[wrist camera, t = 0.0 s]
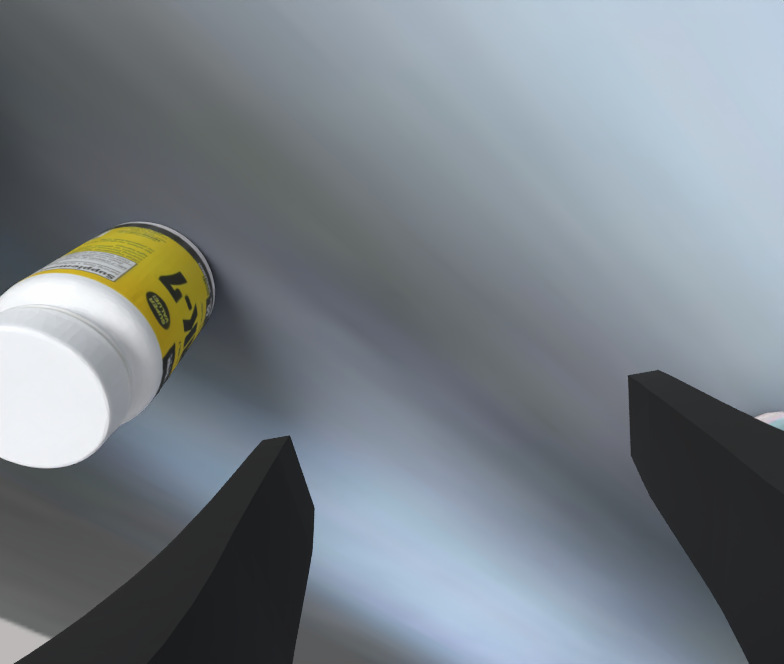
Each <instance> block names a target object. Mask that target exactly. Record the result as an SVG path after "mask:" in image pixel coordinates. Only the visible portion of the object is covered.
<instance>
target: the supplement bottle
mask: <svg viewBox="0 0 784 664" xmlns="http://www.w3.org/2000/svg"><path fill="white" fill-rule="evenodd" d="M214 301H215V285H214V280H213V276H212V273H211V270H210V267H209V265H208V263H207V261H206V259H205V258H204V256H203V255H202V253H201V252H200V251H199V249H198V248H197V247H196V246H195V245H194V244H193V243H192V242H191V241H189V240H188V239H187V238H186V237H184V236H183V235H181V234H180V233H178V232H176V231H175V230H173V229H170V228H168V227H166V226H163V225H160V224H155V223H150V222H128V223H123V224H120V225H117V226H114V227H112V228H110V229H108V230H106V231H104V232H102V233H101V234H99V235H97V236H96V237H94V238H92V239H91V240H89V241H87V242H86V243H84V244H82V245H80V246H79V247H77V248H75V249H74V250H72V251H70V252H69V253H67V254H65V255H64V256H62V257H60V258H59V259H57V260H55V261H54V262H52V263H50V264H48V265H47V266H45V267H43V268H42V269H40V270H38V271H37V272H35V273H33V274H32V275H30V276H28V277H26V278H25V279H23V280H21V281H20V282H18V283H16V284H15V285H13V286H12V287H11V288H9V289H8V290H7V291H6V292H5V293H4V294H3V295H2V296H1V297H0V458H3V459H5V460H8V461H11V462H14V463H17V464H20V465H24V466H29V467H36V468H58V467H65V466H69V465H72V464H75V463H78V462H80V461H82V460H84V459H86V458H88V457H89V456H91V455H92V454H93V453H95V452H96V451H97V450H98V449H99V448H100V447H101V446H102V445H103V444H104V442H105V441H106V440H107V439H108V438H109V437H110V436H111V434H112V433H113V432H114V431H115V430H116V429H117V428H118V427H119V426H120V425H122V424H124V423H126V422H128V421H130V420H132V419H133V418H135V417H136V416H137V415H139V414H140V413H141V412H142V411H143V410H144V409H145V408H146V407H147V406H148V405H149V404H150V403H151V401H152V400H153V399H154V397H155V396H156V395H157V394H158V393H159V391H160V389H161V387H162V386H163V384H164V383H165V382H166V380H167V379H168V377H169V376H170V375H171V373H172V371H173V370H174V369H175V367H176V366H177V364H178V363H179V362H180V360H181V359H182V357H183V356H184V354H185V353H186V351H187V350H188V348H189V347H190V345H191V344H192V342H193V341H194V339H195V338H196V337H197V335H198V334H199V332H200V331H201V329H202V328H203V327H204V325H205V324H206V322H207V320H208V318H209V317H210V315H211V312H212V309H213V306H214Z"/></svg>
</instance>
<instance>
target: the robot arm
mask: <svg viewBox="0 0 784 664" xmlns="http://www.w3.org/2000/svg"><path fill="white" fill-rule="evenodd" d="M628 387H629V415H630V443H631V456H632V459H633V461H634V463H635V465H636V467H637V470H638V472H639V474H640V476H641V478H642V481H643V483H644V485H645V487H646V489H647V491H648V493H649V495H650V497H651V499H652V500H653V502H654V503H655V505H656V507H657V508H658V510H659V511H660V513H661V515H662V516H663V518H664V519H665V521H666V523H667V524H668V526H669V527H670V529H671V530H672V532H673V533H674V535H675V537H676V538H677V540H678V541H679V543H680V544H681V546H682V547H683V549H684V550H685V552H686V554H687V555H688V557H689V558H690V560H691V561H692V563H693V564H694V566H695V568H696V569H697V571H698V572H699V574H700V575H701V577H702V578H703V580H704V581H705V583H706V585H707V586H708V588H709V589H710V591H711V593H712V594H713V596H714V598H715V599H716V601H717V603H718V604H719V606H720V608H721V610H722V611H723V613H724V615H725V617H726V619H727V621H728V623H729V625H730V627H731V629H732V631H733V633H734V634H735V636H736V638H737V640H738V642H739V644H740V646H741V648H742V650H743V652H744V654H745V656H746V658H747V660H748V662H749V664H784V431H783V430H781V429H779V428H776V427H774V426H772V425H769V424H767V423H765V422H763V421H761V420H758V419H756V418H754V417H752V416H750V415H748V414H746V413H743V412H741V411H739V410H737V409H735V408H733V407H731V406H729V405H727V404H725V403H723V402H721V401H719V400H717V399H715V398H713V397H711V396H709V395H707V394H705V393H704V392H702V391H700V390H698V389H696V388H694V387H692V386H690V385H688V384H686V383H684V382H682V381H680V380H678V379H676V378H674V377H672V376H670V375H668V374H666V373H664V372H662V371H659V370H656V371H650V372H645V373H639V374H633V375H628ZM313 533H314V505H313V502H312V499H311V496H310V493H309V490H308V487H307V484H306V481H305V478H304V476H303V473H302V470H301V467H300V464H299V461H298V458H297V455H296V452H295V449H294V446H293V443H292V440H291V437H290V436H284V437H278V438H273V439H267V440H263V441H262V442H261V443H260V444H259V445H258V446H257V447H256V448H255V449H254V450H253V452H252V453H251V454H250V455H249V456H248V457H247V459H246V460H245V461H244V462H243V463H242V465H241V466H240V467H239V468H238V469H237V470H236V472H235V473H234V474H233V475H232V476H231V478H230V479H229V480H228V481H227V482H226V483H225V485H224V486H223V487H222V488H221V489H220V490H219V492H218V493H217V494H216V495H215V496H214V497H213V498H212V500H211V501H210V502H209V503H208V504H207V505H206V506H205V507H204V508H203V509H202V510H201V512H200V513H199V514H198V515H197V516H196V517H195V518H194V519H193V520H192V521H191V522H190V523H189V524H188V525H187V526H186V527H185V528H184V530H183V531H182V532H181V533H180V534H179V535H178V536H177V537H176V538H175V539H174V540H173V541H172V542H171V543H170V544H169V545H168V546H167V547H166V548H165V549H164V550H163V551H161V552H160V553H159V554H158V555H157V556H156V557H155V558H154V559H153V560H152V561H151V562H149V563H148V564H147V565H146V566H145V567H144V568H143V569H142V570H141V571H139V572H138V573H137V574H136V575H135V576H134V577H132V578H131V579H130V580H129V581H128V582H127V583H125V584H124V585H123V586H121V587H120V588H119V589H118V590H116V591H115V592H114V593H113V594H111V595H110V596H109V597H107V598H106V599H105V600H104V601H102V602H101V603H100V604H99V605H97V606H96V607H95V608H94V609H92V610H91V611H90V612H88V613H87V614H86V615H85V616H83V617H82V618H80V619H79V620H78V621H76V622H75V623H73V624H72V625H71V626H69V627H68V628H66V629H65V630H64V631H62V632H61V633H59V634H58V635H57V636H55V637H54V638H52V639H51V640H49V641H48V642H46V643H45V644H43V645H42V646H40V647H39V648H37V649H36V650H34V651H33V652H31V653H30V654H28V655H27V656H25V657H24V658H22V659H20V660H19V661H17V662H16V663H14V664H292V663H293V656H294V650H295V644H296V639H297V634H298V628H299V623H300V617H301V612H302V607H303V601H304V596H305V590H306V585H307V579H308V574H309V568H310V563H311V557H312V550H313Z"/></svg>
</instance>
